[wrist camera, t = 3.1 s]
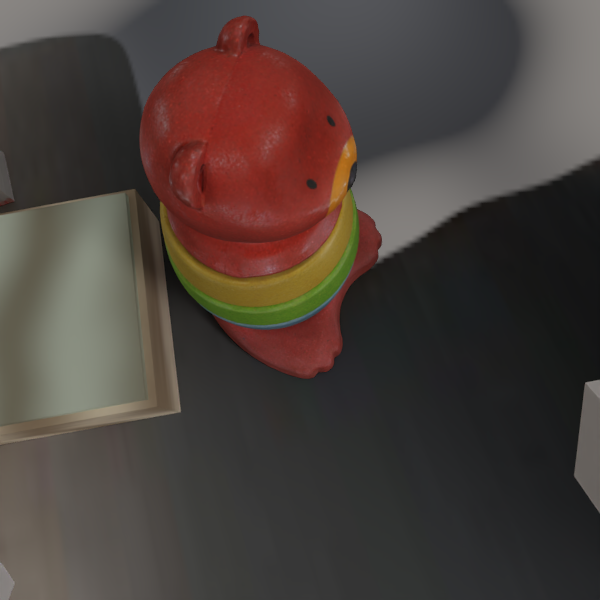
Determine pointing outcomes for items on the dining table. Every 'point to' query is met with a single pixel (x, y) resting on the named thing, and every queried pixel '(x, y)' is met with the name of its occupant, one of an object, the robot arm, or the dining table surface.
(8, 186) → the white printed cardboard box
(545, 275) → the dining table surface
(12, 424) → the base block
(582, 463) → the robot arm
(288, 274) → the stacking bear
